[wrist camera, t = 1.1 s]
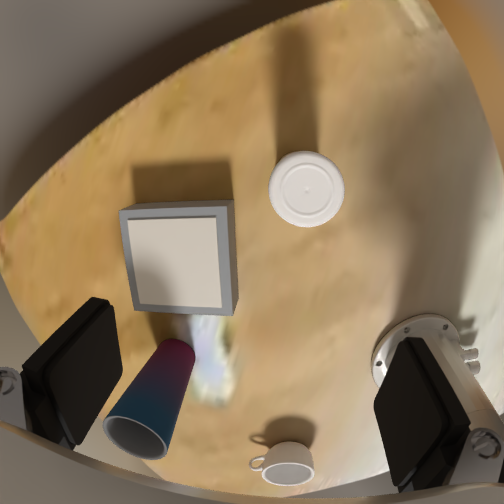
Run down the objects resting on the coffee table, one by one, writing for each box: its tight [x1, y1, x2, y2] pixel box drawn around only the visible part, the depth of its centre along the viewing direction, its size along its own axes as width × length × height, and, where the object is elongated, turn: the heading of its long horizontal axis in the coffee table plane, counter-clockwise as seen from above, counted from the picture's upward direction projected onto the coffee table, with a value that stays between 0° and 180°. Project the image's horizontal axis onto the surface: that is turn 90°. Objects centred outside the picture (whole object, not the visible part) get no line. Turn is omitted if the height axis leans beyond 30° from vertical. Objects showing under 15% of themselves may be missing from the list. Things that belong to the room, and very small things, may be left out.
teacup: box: [249, 441, 315, 486], centre depth 41 cm, size 10×8×5 cm
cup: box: [103, 339, 195, 460], centre depth 32 cm, size 7×7×15 cm
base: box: [119, 200, 239, 316], centre depth 32 cm, size 11×11×4 cm
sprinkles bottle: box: [268, 151, 345, 227], centre depth 24 cm, size 5×5×13 cm
